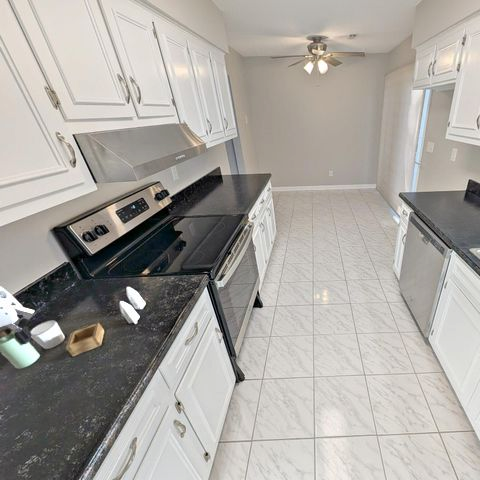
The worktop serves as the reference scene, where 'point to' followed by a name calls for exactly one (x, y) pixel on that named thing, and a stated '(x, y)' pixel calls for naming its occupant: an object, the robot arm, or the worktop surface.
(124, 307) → the shaker set
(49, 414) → the worktop surface
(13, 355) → the bottle
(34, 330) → the white cup
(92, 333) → the box
